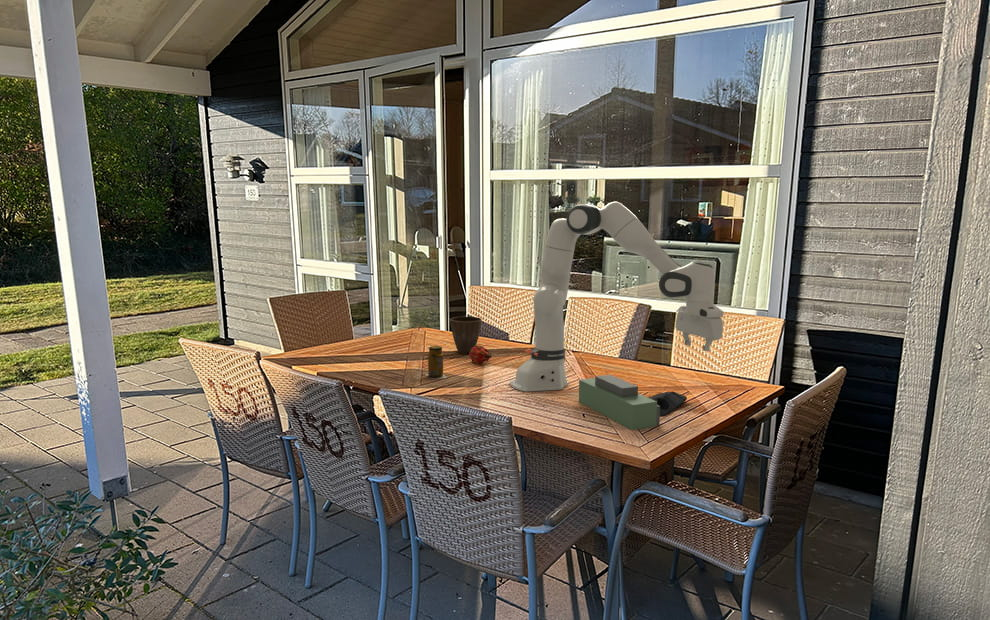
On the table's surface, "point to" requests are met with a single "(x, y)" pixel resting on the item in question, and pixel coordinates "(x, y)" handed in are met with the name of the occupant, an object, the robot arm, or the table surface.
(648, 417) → the block
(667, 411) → the black crumpled cloth
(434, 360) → the condiment
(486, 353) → the dragon fruit
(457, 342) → the plant pot
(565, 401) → the table surface
